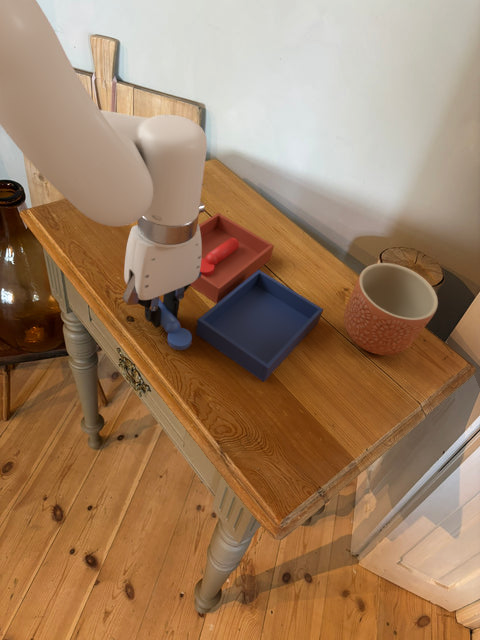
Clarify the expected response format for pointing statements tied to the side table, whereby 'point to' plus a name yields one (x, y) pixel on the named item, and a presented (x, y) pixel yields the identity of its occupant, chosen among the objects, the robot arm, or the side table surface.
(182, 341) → the blue spoon
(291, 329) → the blue bin
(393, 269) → the planter
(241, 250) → the red bin
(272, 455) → the side table surface
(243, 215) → the side table surface
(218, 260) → the red spoon
